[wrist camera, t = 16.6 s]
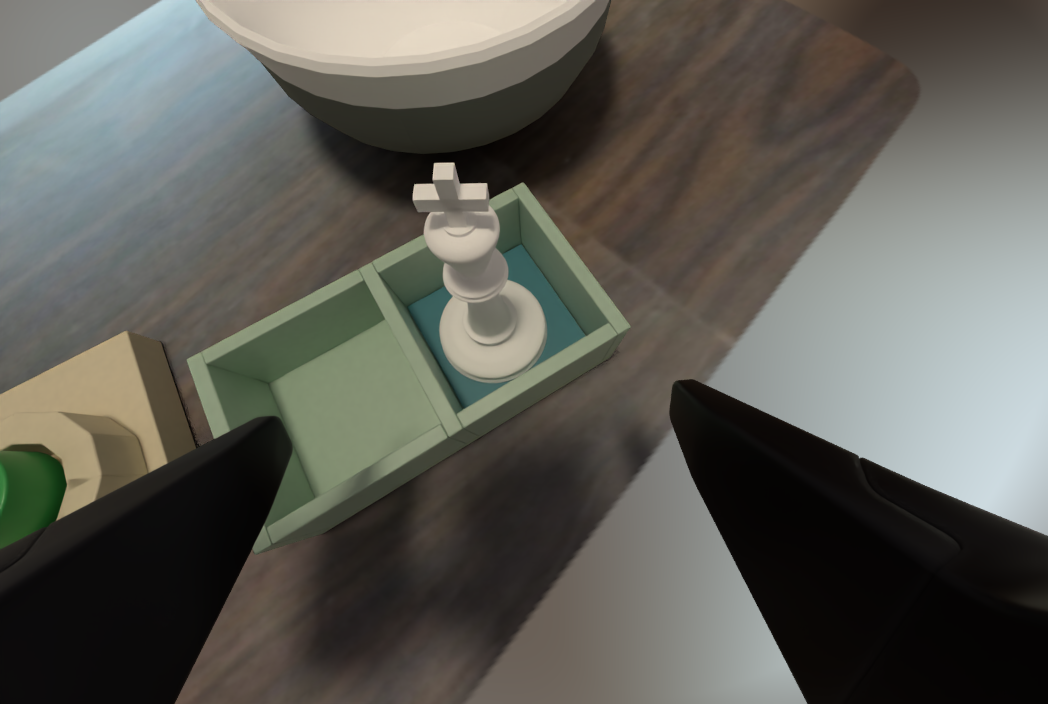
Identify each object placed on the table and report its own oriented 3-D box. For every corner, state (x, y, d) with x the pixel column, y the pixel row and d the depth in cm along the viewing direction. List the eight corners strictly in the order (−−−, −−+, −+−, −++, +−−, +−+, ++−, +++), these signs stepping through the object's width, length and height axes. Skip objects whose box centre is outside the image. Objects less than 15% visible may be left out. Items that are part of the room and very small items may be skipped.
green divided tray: (526, 237, 20) (523, 181, 16) (611, 357, 18) (631, 326, 14) (261, 382, 18) (185, 359, 14) (322, 533, 16) (254, 555, 12)
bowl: (235, 120, 23) (76, -62, 15) (435, -51, 27) (393, -265, 19) (477, 284, 19) (435, 157, 11) (667, 58, 23) (734, -151, 15)
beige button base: (219, 513, 17) (138, 525, 13) (32, 623, 16) (-107, 666, 12) (161, 341, 19) (80, 314, 16) (-4, 426, 18) (-128, 418, 15)
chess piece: (444, 283, 18) (346, 85, 9) (546, 283, 18) (558, 81, 9) (437, 383, 17) (309, 276, 7) (547, 383, 17) (560, 274, 7)
